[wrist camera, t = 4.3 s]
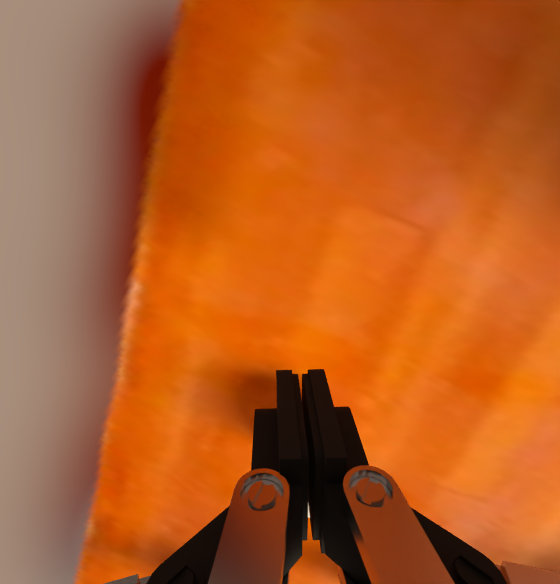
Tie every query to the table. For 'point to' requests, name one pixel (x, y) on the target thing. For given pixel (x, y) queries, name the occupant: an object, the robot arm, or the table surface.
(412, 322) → the table surface
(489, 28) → the table surface
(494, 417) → the table surface
